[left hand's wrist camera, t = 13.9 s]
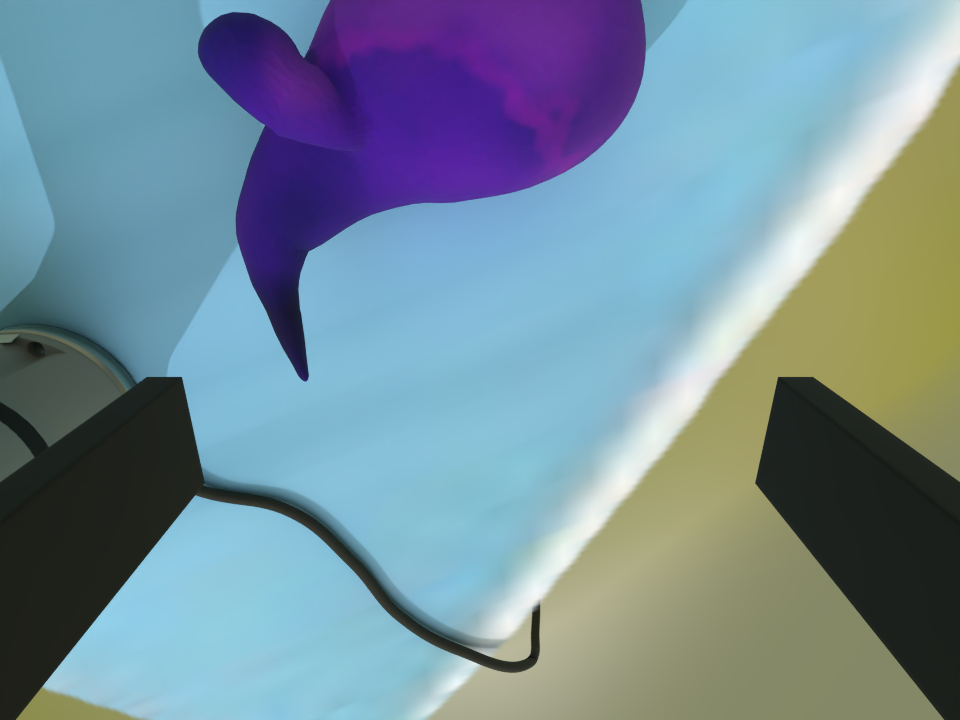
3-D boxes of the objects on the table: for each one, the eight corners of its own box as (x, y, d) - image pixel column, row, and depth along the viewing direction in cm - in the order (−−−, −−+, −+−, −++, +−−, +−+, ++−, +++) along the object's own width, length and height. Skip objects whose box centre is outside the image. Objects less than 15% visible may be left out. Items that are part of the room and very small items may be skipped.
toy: (211, 159, 40) (538, -54, 38) (339, 367, 42) (664, 172, 39) (28, 68, 25) (567, -303, 22) (244, 407, 26) (774, 87, 24)
